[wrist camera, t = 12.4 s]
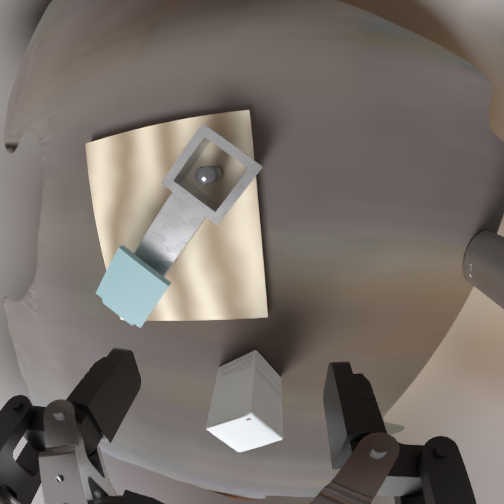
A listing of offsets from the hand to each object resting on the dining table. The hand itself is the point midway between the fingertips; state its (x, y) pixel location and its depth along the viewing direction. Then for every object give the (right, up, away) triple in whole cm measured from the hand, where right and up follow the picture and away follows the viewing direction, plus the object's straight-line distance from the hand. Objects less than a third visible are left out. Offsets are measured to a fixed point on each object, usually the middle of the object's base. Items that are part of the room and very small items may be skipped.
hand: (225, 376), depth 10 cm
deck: (-9, +8, +25) cm, 27 cm away
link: (-7, +10, +23) cm, 26 cm away
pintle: (-3, +14, +22) cm, 27 cm away
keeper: (-13, +3, +26) cm, 30 cm away
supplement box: (+1, -14, +31) cm, 34 cm away
